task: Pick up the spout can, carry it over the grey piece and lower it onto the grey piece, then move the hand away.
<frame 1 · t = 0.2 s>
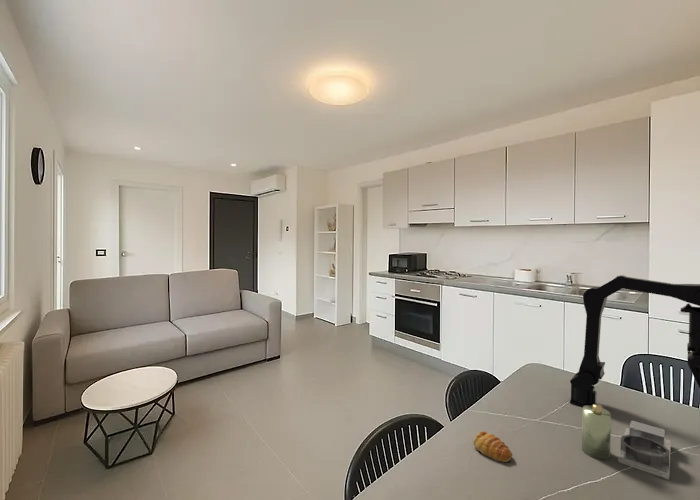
pastry: (491, 452, 91), on the table
grey piece: (633, 450, 91), on the table
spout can: (595, 452, 90), on the table
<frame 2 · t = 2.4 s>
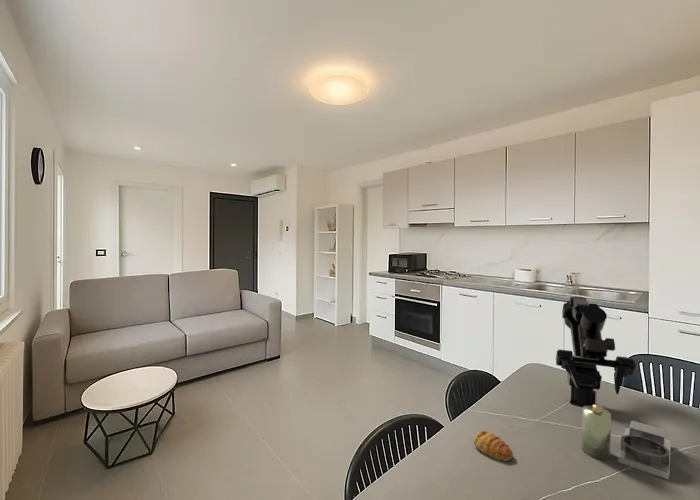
hand: (597, 390, 96), 13 cm above the table, tool tilted 45°, fingers open, 9 cm apart
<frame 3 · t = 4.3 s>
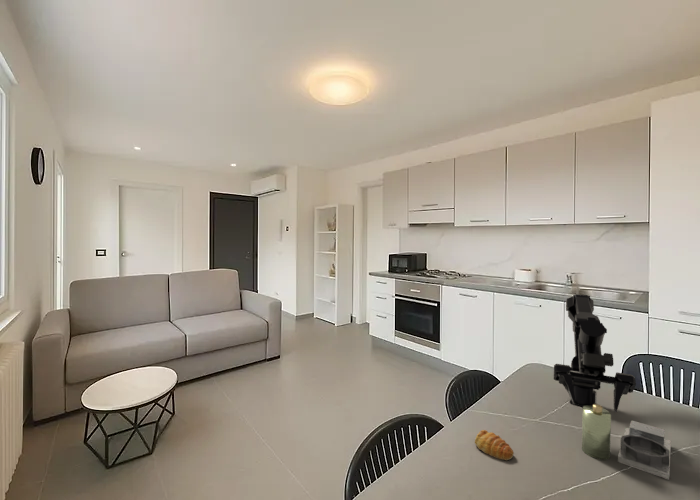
hand: (594, 407, 93), 10 cm above the table, tool tilted 45°, fingers open, 9 cm apart
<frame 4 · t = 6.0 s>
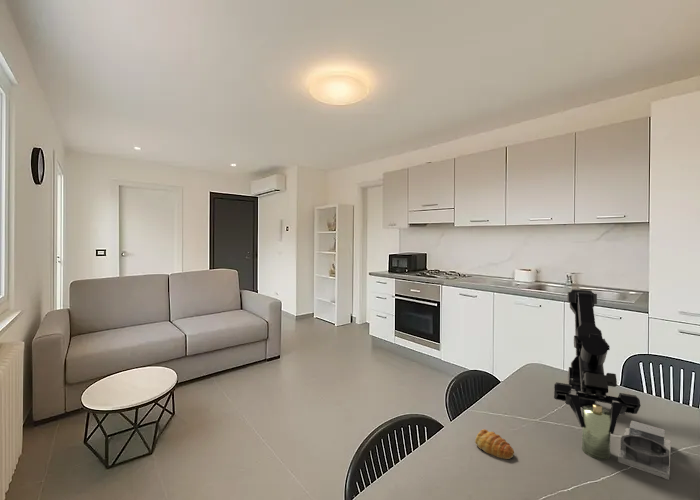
hand: (597, 430, 89), 7 cm above the table, tool tilted 45°, fingers closed on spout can, 6 cm apart
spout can: (595, 452, 90), on the table, touching gripper
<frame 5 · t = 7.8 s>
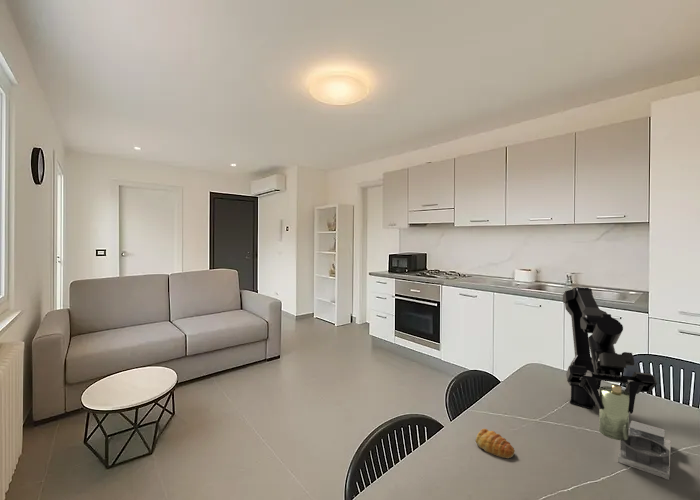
hand: (615, 410, 87), 12 cm above the table, tool tilted 45°, fingers closed on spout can, 6 cm apart
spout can: (613, 433, 88), point 6 cm above the table, touching gripper
when the fingers open (9 cm above the table, at t = 9.8 s): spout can drops 1 cm, resting on grey piece.
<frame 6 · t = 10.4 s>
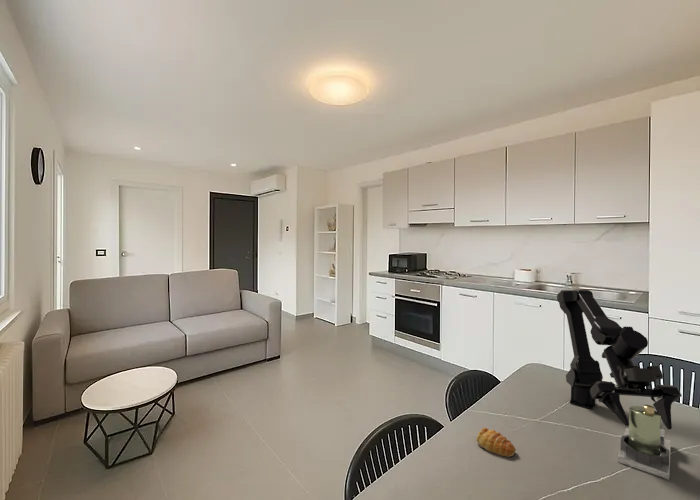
hand: (648, 427, 85), 9 cm above the table, tool tilted 45°, fingers open, 9 cm apart
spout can: (644, 455, 87), point 2 cm above the table, touching grey piece
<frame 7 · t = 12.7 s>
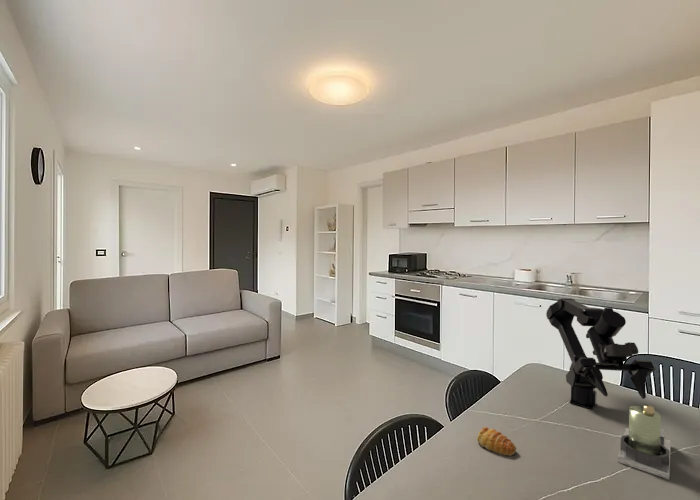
hand: (625, 397, 94), 13 cm above the table, tool tilted 45°, fingers open, 9 cm apart
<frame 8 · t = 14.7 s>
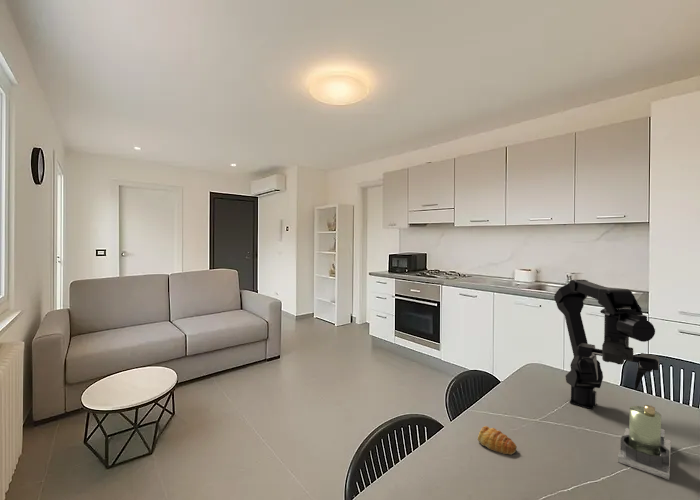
hand: (615, 384, 101), 13 cm above the table, tool pointing down, fingers open, 9 cm apart
at the end: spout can 0.1 cm from the target spot on the grey piece, point 1.5 cm above the grey piece's base; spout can tilted 1°; the gripper is holding nothing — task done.
